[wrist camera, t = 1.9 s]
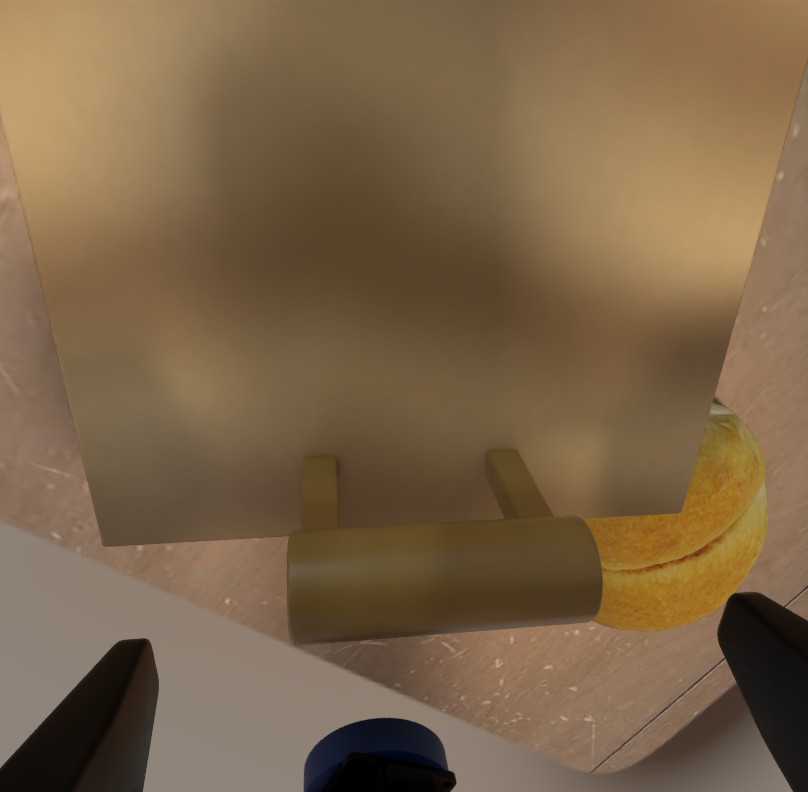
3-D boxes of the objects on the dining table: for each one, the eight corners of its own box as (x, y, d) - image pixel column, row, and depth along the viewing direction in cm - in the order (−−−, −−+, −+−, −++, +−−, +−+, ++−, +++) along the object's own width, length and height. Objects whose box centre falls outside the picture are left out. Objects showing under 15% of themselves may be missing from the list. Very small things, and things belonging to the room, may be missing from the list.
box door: (668, 497, 16) (809, 662, 11) (111, 528, 14) (14, 736, 10) (806, -26, 11) (1156, -107, 6) (-27, -76, 9) (-362, -237, 5)
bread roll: (550, 610, 25) (587, 695, 22) (512, 431, 21) (551, 499, 18) (743, 555, 25) (812, 631, 22) (743, 363, 21) (829, 419, 18)
